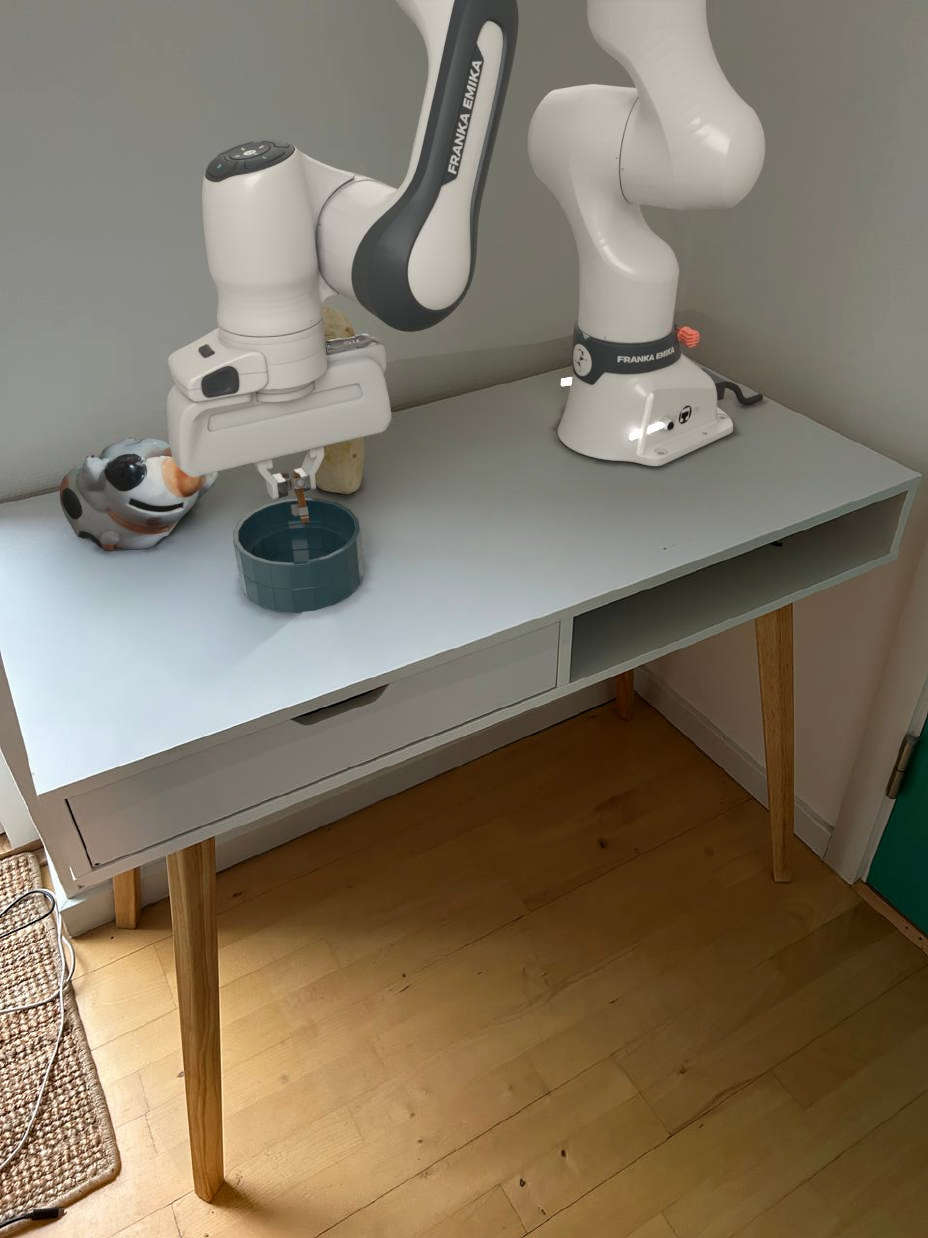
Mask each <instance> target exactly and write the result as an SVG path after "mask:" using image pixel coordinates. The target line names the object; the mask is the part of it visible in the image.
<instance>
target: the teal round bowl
mask: <svg viewBox="0 0 928 1238" xmlns="http://www.w3.org/2000/svg"><path fill="white" fill-rule="evenodd" d="M305 502H306V506H307V507H308V513H309V514H308V516H309V522H307V523H302V522H301V518H300V517H301V516H300V515H299V516H294V514H293V515H292V510H291V505H293V504H298V499H297V497H296V498H288V499H287V498H286V499H281V500H278V501H274V502H270V503H267V504H264V505H262V506H260V507H258V508H255V509H254V510H252V511H250V512H249V513H247V514H246V515H245V516H244V517H242V518H241V519H240V520H239V521H238V523H237V524H236V526H235V527H234V530H233V534H232V535H233V537H232V538H233V548H234V553H235V559H236V564H237V570H238V576H239V581H240V587H241V590H242V591H243V593H244V594H245V596H246V598H247V599H248V600H250V601H252V602H253V603H254V604H256V605H258V606H259V607H261V608H264V609H267V610H271V611H275V612H282V613H283V612H284V613H306V612H307V613H308V612H315V611H319V610H322V609H325V608H328V607H332V606H334V605H337V604H339V603H340V602H343V601H344V600H346V599H348V598H349V597H351V596H352V594H354V592H356V590H358V589H359V587H361V584H362V581H363V579H364V576H365V567H364V555H363V544H362V543H363V541H362V531H361V530H362V529H361V525H360V519H359V517H358V516H357V515H356V514H355V513H354V511H352V509H350V508H348V507H346V506H345V505H343V504H341V503H339V502H336V501H331V500H328V499H323V498H311V497H305Z"/></svg>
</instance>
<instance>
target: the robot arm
mask: <svg viewBox="0 0 928 1238" xmlns="http://www.w3.org/2000/svg"><path fill="white" fill-rule="evenodd" d="M394 1H395V3H396V5H398V6H399V8H400V9H401V11H402V12H403V13H405V15H406V16H407V17H408V18H409V19H410V20H411V21H412V23H414V25H415V26H416V28H417V29H418V31H419V32H420V35H421V37H422V39H423V42H424V44H425V45H424V46H425V49H426V53H427V62H428V63H427V65H428V68H427V69H428V70H427V81H426V86H425V91H424V95H423V100H422V104H421V109H420V113H419V119H418V124H417V127H416V132H415V137H414V140H413V144H412V145H413V146H412V150H411V155H410V159H409V164H408V168H407V173H406V175H405V178H404V180H403V181H402V183H401V184H400V186H399V187H398V188H397V187H393V186H391V185H388V184H387V183H385V182H383V181H380V180H377V179H374V178H372V177H369V176H366V175H364V174H361V173H357V172H353V171H348V170H344V169H340V168H336V167H333V166H331V165H328V164H326V163H323V162H321V161H319V160H317V159H315V158H312V157H311V156H309V155H307V154H306V153H304V152H302V151H301V150H299V148H298V147H297V146H295V145H294V144H293V143H291V142H289V141H286V140H281V139H263V140H256V141H255V140H252V141H246V142H242V143H240V144H236V145H233V146H231V147H229V148H227V149H225V150H223V151H221V152H219V153H218V154H217V156H215V157H214V158H213V159H212V160H211V161H210V162H209V163H208V165H207V167H206V168H205V171H204V174H203V177H202V178H203V179H202V186H201V187H202V188H201V209H202V210H201V212H202V213H201V214H202V227H203V235H204V244H205V252H206V259H207V264H208V265H207V267H208V271H209V273H210V277H211V278H212V281H213V282H214V285H215V287H216V292H217V301H218V302H217V309H216V323H217V327H216V328H214V329H213V330H212V331H210V332H208V333H207V334H204V335H203V336H201V337H200V338H197V339H196V340H194V341H193V342H191V343H188V344H186V345H185V346H183V347H181V348H179V349H176V350H175V351H173V352H172V353H171V354H170V355H169V356H168V358H167V366H168V370H169V373H170V375H171V378H172V380H173V382H174V383H175V384H173V386H172V387H171V389H170V390H169V392H168V395H167V400H166V425H167V436H168V443H170V449H171V454H172V457H173V459H174V461H175V463H176V465H177V466H178V468H179V469H180V470H181V471H183V472H184V473H185V474H187V475H188V476H190V477H198V476H202V475H206V474H210V473H214V472H218V471H219V472H223V471H226V470H230V469H235V468H239V467H243V466H244V467H245V466H247V465H253V467H254V468H255V469H256V470H257V472H258V473H259V474H260V475H261V476H262V477H263V478H264V480H265V483H266V490H267V494H268V496H270V498H271V499H272V500H277V499H281V498H285V497H289V490H288V491H287V481H286V480H285V478H283V476H282V475H281V474H280V473H281V472H277V473H278V474H276V473H271V471H270V470H269V469H273V468H274V464H273V459H277V458H281V457H285V456H289V455H293V454H297V453H302V452H305V453H306V454H305V456H304V458H303V462H302V465H301V467H298V468H294V469H293V475H294V474H296V473H298V474H300V476H301V478H302V477H304V480H305V485H306V487H305V488H303V491H304V493H305V492H308V491H313V490H316V489H317V484H316V481H315V473H316V472H317V470H318V468H319V466H320V464H321V462H322V460H323V458H324V446H327V445H331V444H335V443H340V442H344V441H348V440H352V439H356V438H361V437H364V438H365V437H368V436H372V435H376V434H381V433H385V432H386V430H387V429H388V427H389V426H390V424H391V422H392V418H393V417H392V410H391V409H392V408H391V401H390V395H389V390H388V385H387V381H386V378H385V375H384V374H385V373H386V370H387V351H386V347H385V345H384V343H383V341H382V340H380V339H379V338H377V337H375V336H371V335H370V334H369V333H358V334H354V337H348V338H338V339H332V340H327V341H325V334H324V324H323V312H322V307H323V305H324V301H326V299H328V298H329V297H334V296H338V295H340V296H342V297H344V298H346V299H348V300H350V301H351V302H354V303H356V304H358V305H360V306H362V307H363V308H364V309H365V310H366V311H368V312H369V313H370V314H372V315H373V316H374V317H376V318H377V319H378V320H380V321H381V322H383V324H385V325H387V326H388V327H390V328H392V329H394V330H397V331H400V332H406V333H415V332H420V331H421V332H422V331H424V330H427V329H430V328H433V327H434V326H436V325H437V324H439V323H441V322H442V321H443V320H445V319H446V318H448V317H449V316H450V315H451V314H452V313H453V312H454V311H455V310H456V309H457V308H458V307H459V306H460V305H461V303H462V302H463V300H464V299H465V297H466V296H467V294H468V292H469V289H470V287H471V285H472V282H473V279H474V275H475V271H476V264H477V263H476V262H477V256H478V255H477V253H478V236H479V235H478V233H479V222H480V221H479V220H480V213H481V207H482V201H483V196H484V192H485V189H486V184H487V179H488V174H489V170H490V166H491V162H492V157H493V153H494V149H495V145H496V140H497V136H498V132H499V128H500V123H501V120H502V115H503V110H504V106H505V101H506V97H507V93H508V90H509V89H508V88H509V83H510V80H511V75H512V70H513V65H514V60H515V55H516V50H517V41H518V35H519V17H520V15H519V6H518V1H517V0H394ZM586 18H587V24H588V27H589V31H590V33H591V36H592V38H593V40H594V41H595V43H596V44H597V45H598V46H599V47H600V49H602V50H603V51H604V52H605V53H606V54H608V55H609V56H610V57H612V58H613V59H614V60H616V61H617V62H618V64H620V65H621V66H622V67H623V68H624V69H625V71H626V73H628V75H629V77H630V78H631V80H632V83H633V84H634V86H635V87H630V86H620V85H619V86H618V85H609V84H608V85H607V84H599V83H598V84H597V83H590V84H589V83H588V84H582V85H581V84H580V85H574V86H569V87H563V88H557V89H553V90H551V91H550V92H548V93H547V94H546V95H545V96H544V97H543V99H542V100H541V101H540V103H539V104H538V105H537V107H536V109H535V111H534V113H533V115H532V117H531V119H530V122H529V126H528V130H527V141H526V142H527V145H526V146H527V155H528V158H529V159H528V160H529V162H530V165H531V168H532V170H533V172H534V174H535V176H536V177H537V179H538V180H539V181H540V182H541V183H542V184H543V185H544V186H545V187H546V188H547V189H548V190H549V191H550V192H551V194H552V195H553V197H554V198H555V199H556V201H557V203H558V204H559V205H560V207H561V209H562V211H563V213H564V215H565V216H566V219H567V222H568V223H569V226H570V229H571V232H572V234H573V238H574V241H575V245H576V250H577V255H578V267H579V270H578V271H579V273H578V275H579V288H578V289H579V290H578V291H579V292H578V294H579V297H578V314H577V315H578V316H577V320H576V321H575V322H574V326H573V335H572V336H573V337H572V346H571V364H572V376H570V377H564V378H561V379H560V386H561V387H566V386H569V391H568V396H567V400H566V404H565V407H564V410H563V414H562V417H561V420H560V422H559V425H558V428H557V436H558V438H559V440H560V441H561V442H562V444H564V445H565V446H566V447H567V448H569V449H570V450H572V451H574V452H576V453H578V454H581V455H582V456H583V455H584V456H587V457H590V458H594V459H598V460H604V461H612V462H613V461H614V462H629V463H636V464H640V465H644V466H649V467H661V466H664V465H666V464H668V463H670V462H672V461H675V460H677V459H679V458H681V457H683V456H686V455H688V454H689V453H692V452H694V451H696V450H698V449H701V448H703V447H704V446H707V445H710V444H711V443H714V442H716V441H717V440H720V439H722V438H725V437H727V436H728V435H731V434H732V433H733V432H734V423H733V420H732V419H731V417H730V416H729V415H728V414H727V413H726V412H725V411H724V410H723V409H721V408H720V407H719V406H718V401H722V400H724V399H725V398H724V397H725V393H726V392H725V391H726V389H728V390H730V391H732V392H733V393H734V394H735V397H736V399H737V401H738V402H739V403H740V404H742V405H745V406H746V405H752V404H755V403H757V402H760V401H762V400H763V399H764V395H763V394H762V393H757V394H754V395H751V396H749V397H745V396H744V394H743V391H742V389H741V387H740V386H739V385H738V384H737V383H735V382H731V381H730V380H725V379H723V378H721V377H720V376H718V375H717V374H715V373H713V372H711V371H710V370H709V369H707V368H705V367H703V368H701V367H699V366H698V365H697V364H696V363H694V362H693V361H692V360H690V358H689V357H687V356H686V355H684V354H683V353H682V350H681V346H680V343H681V344H684V345H685V346H686V347H688V348H690V349H691V348H694V347H696V346H697V345H698V343H699V342H700V340H701V334H700V333H699V331H698V330H695V329H691V327H689V326H683V327H682V328H680V327H679V325H678V324H677V323H675V322H674V317H675V309H676V301H677V292H678V285H679V277H680V267H679V262H678V259H677V256H676V254H675V251H674V250H673V248H672V247H671V246H670V245H669V244H668V243H667V242H666V241H665V240H664V239H662V238H661V237H659V235H658V234H657V233H655V232H654V231H653V230H652V229H651V228H650V227H649V224H647V222H646V220H645V218H644V216H643V213H642V211H641V210H642V209H641V206H649V207H655V208H662V209H667V210H674V211H675V210H676V211H680V212H681V211H682V212H704V211H716V210H717V211H718V210H728V209H732V208H734V207H736V206H737V205H738V204H740V202H741V201H743V199H745V198H746V197H747V195H748V194H749V193H750V192H751V190H752V189H753V187H754V186H755V184H756V183H757V181H758V179H759V177H760V175H761V172H762V169H763V166H764V161H765V157H766V137H765V132H764V129H763V125H762V122H761V120H760V118H759V116H758V114H757V112H756V111H755V110H754V109H753V107H751V106H750V104H748V103H747V102H746V101H745V100H744V99H743V98H742V97H741V96H740V95H739V94H738V93H737V91H736V90H735V89H734V87H732V85H731V84H730V82H729V81H728V79H727V77H726V75H725V73H724V71H723V70H722V68H721V65H720V63H719V61H718V59H717V55H716V53H715V50H714V47H713V44H712V41H711V37H710V32H709V27H708V20H707V0H586ZM640 205H641V206H640ZM272 474H273V475H272Z"/></svg>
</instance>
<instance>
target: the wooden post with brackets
mask: <svg viewBox="0 0 928 1238" xmlns="http://www.w3.org/2000/svg"><path fill="white" fill-rule="evenodd" d="M278 473H280V474H281V475H282V476H283V478H285V480H286V481H287V491H288V492H289V491H292V490H293V491H294V493H295V495H296V498H297V499H298V504H293V505H291V510H292V515H293V514H294V516H299V515H300V516H301V517H300V518H301V522H302V523H307V522H309V516H308V514H309V513H308V507H307V506H306V502H305V498H306V496H305V492H304V491H303V488H305V487H306V485H305V480H304V477H302V478H301V476H300V474H298V473H296V474H294V473H293V474H292V477H290V472H289V471H284V472H276V473H275V474H278ZM271 474H272V475H273V474H274V473H271Z"/></svg>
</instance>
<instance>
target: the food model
mask: <svg viewBox="0 0 928 1238" xmlns="http://www.w3.org/2000/svg"><path fill="white" fill-rule="evenodd" d="M322 312H323V324H324V334H325V341H327V340H332V339H338V338H348V337H354V336H355V330H354V328H353V325H352V323H351V321H350V320H349V318H348V317H347V316H346V315H345V313H344V312H342V311H340V310H339V309H336V308H334V307H332V306H331V307H330V306H322ZM364 461H365V437H361V438H356V439H352V440H348V441H344V442H340V443H335V444H331V445H327V446H324V458H323V460H322V462H321V464H320V466H319V468H318V470H317V472H316V473H315V481H316V487H318V488H319V489H320V490H323V491H324V492H329V493H337V494H342V495H351V494H352V493H355V492H356V491H358V490H359V489H360V487H361V484H362V480H363V471H364Z"/></svg>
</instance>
